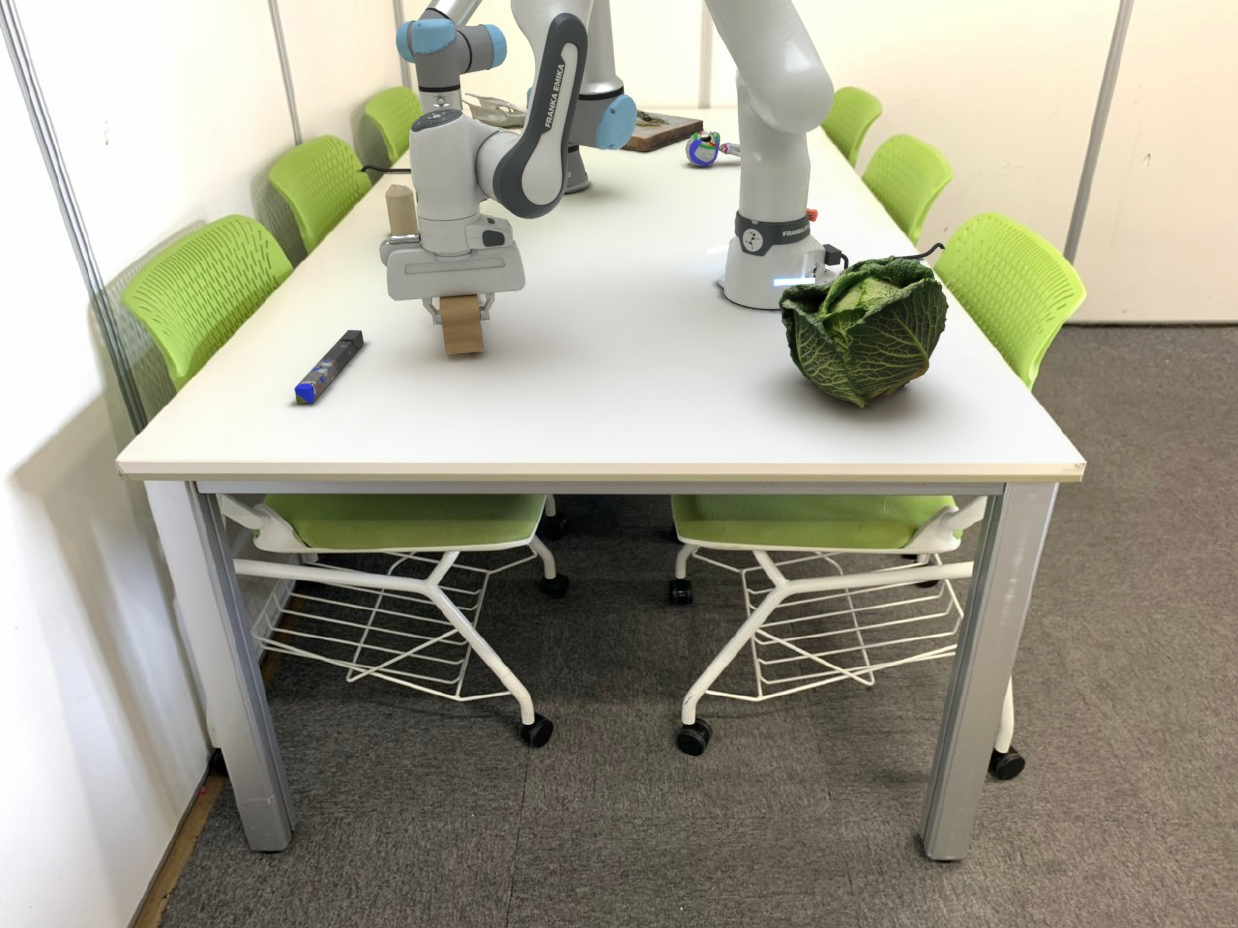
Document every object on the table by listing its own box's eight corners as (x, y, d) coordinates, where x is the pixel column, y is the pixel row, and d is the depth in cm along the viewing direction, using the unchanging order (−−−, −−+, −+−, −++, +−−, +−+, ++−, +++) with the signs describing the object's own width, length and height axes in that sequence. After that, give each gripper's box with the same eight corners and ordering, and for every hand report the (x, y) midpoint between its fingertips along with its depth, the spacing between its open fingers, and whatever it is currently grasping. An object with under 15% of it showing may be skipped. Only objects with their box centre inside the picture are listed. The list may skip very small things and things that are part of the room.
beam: (444, 244, 181) (439, 206, 177) (472, 242, 182) (467, 204, 178) (445, 354, 133) (439, 306, 129) (483, 351, 134) (478, 303, 130)
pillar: (361, 330, 139) (308, 390, 122) (364, 343, 140) (311, 404, 123) (348, 329, 139) (293, 389, 122) (350, 342, 140) (296, 403, 123)
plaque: (647, 125, 237) (559, 112, 252) (647, 153, 241) (560, 139, 256) (706, 107, 258) (622, 97, 273) (705, 133, 262) (622, 121, 277)
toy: (809, 146, 225) (693, 132, 220) (801, 180, 229) (687, 167, 224) (798, 137, 233) (686, 124, 229) (791, 170, 238) (681, 158, 233)
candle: (423, 231, 187) (416, 182, 181) (409, 239, 182) (402, 190, 177) (400, 229, 188) (393, 180, 183) (386, 237, 184) (378, 187, 178)
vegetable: (809, 415, 132) (748, 301, 124) (914, 342, 133) (860, 224, 126) (882, 452, 114) (816, 321, 106) (1002, 367, 115) (946, 232, 107)
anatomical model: (468, 90, 276) (547, 88, 273) (472, 121, 281) (549, 120, 278) (454, 100, 264) (536, 98, 260) (458, 132, 269) (539, 131, 265)
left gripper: (388, 121, 159) (407, 247, 171) (496, 115, 162) (506, 240, 174) (390, 112, 165) (408, 235, 178) (493, 107, 168) (504, 228, 180)
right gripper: (375, 244, 125) (391, 335, 132) (522, 233, 127) (529, 323, 135) (378, 230, 130) (393, 319, 137) (519, 220, 133) (526, 307, 140)
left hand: (456, 237), depth 176 cm, fingers open, 6 cm apart
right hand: (462, 321), depth 136 cm, fingers closed on beam, 6 cm apart
